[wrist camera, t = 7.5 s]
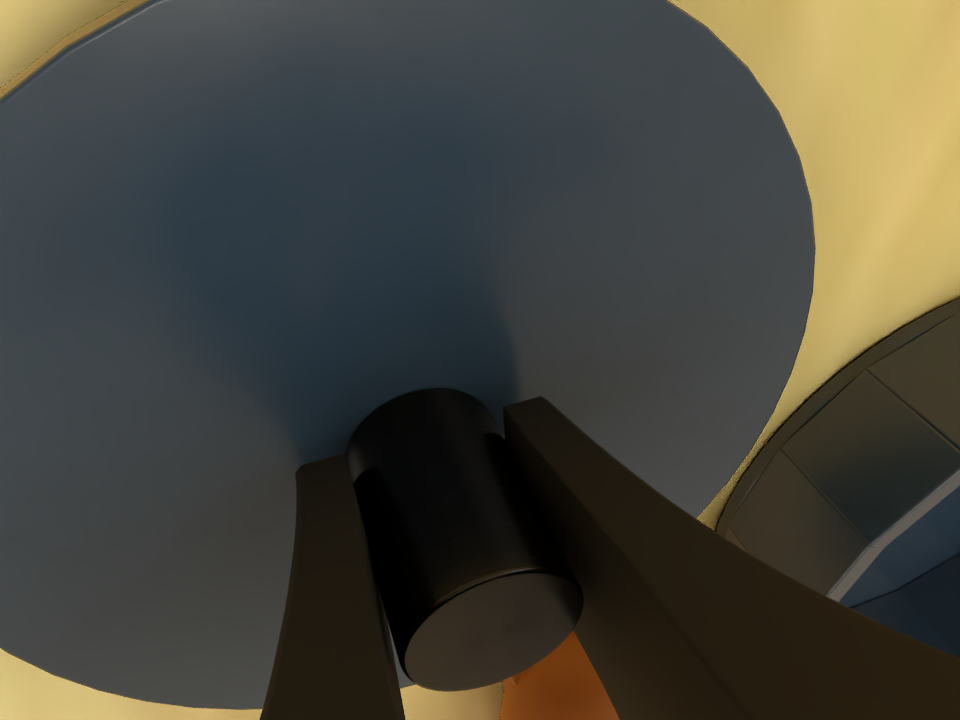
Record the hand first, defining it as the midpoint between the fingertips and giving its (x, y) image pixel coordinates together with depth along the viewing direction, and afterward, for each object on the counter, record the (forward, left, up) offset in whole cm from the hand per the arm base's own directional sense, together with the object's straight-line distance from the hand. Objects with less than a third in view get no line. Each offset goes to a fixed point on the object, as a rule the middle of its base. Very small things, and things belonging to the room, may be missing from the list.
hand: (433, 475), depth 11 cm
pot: (-9, -14, -2) cm, 17 cm away
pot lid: (0, 0, -1) cm, 1 cm away
